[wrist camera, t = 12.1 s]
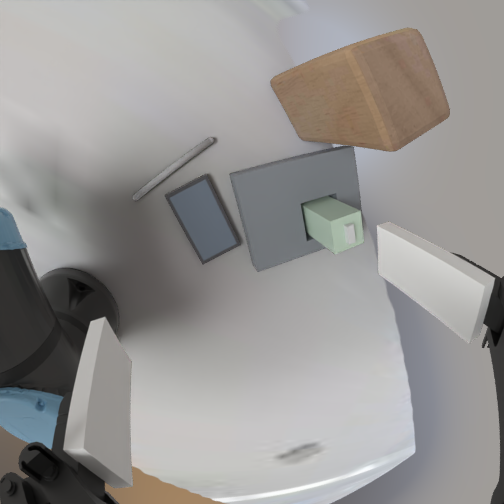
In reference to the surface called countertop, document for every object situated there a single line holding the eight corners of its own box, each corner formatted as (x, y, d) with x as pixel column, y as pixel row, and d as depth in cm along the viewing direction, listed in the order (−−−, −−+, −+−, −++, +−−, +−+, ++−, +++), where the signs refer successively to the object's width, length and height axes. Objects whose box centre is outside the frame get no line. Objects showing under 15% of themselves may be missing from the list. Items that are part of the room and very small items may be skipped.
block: (299, 142, 40) (395, 157, 22) (265, 81, 35) (347, 45, 17) (351, 114, 40) (455, 117, 22) (322, 55, 36) (420, 24, 18)
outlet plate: (253, 265, 45) (257, 271, 43) (229, 173, 39) (233, 176, 37) (355, 229, 48) (363, 234, 46) (344, 145, 42) (353, 146, 40)
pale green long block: (303, 230, 45) (338, 256, 36) (298, 203, 43) (333, 223, 34) (329, 221, 46) (367, 244, 37) (324, 194, 44) (364, 212, 35)
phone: (202, 262, 43) (202, 264, 42) (165, 194, 38) (165, 196, 37) (239, 242, 43) (240, 244, 42) (205, 173, 38) (206, 174, 37)
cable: (135, 201, 37) (135, 202, 36) (131, 196, 36) (130, 197, 36) (214, 141, 37) (215, 141, 36) (210, 135, 36) (211, 135, 36)
